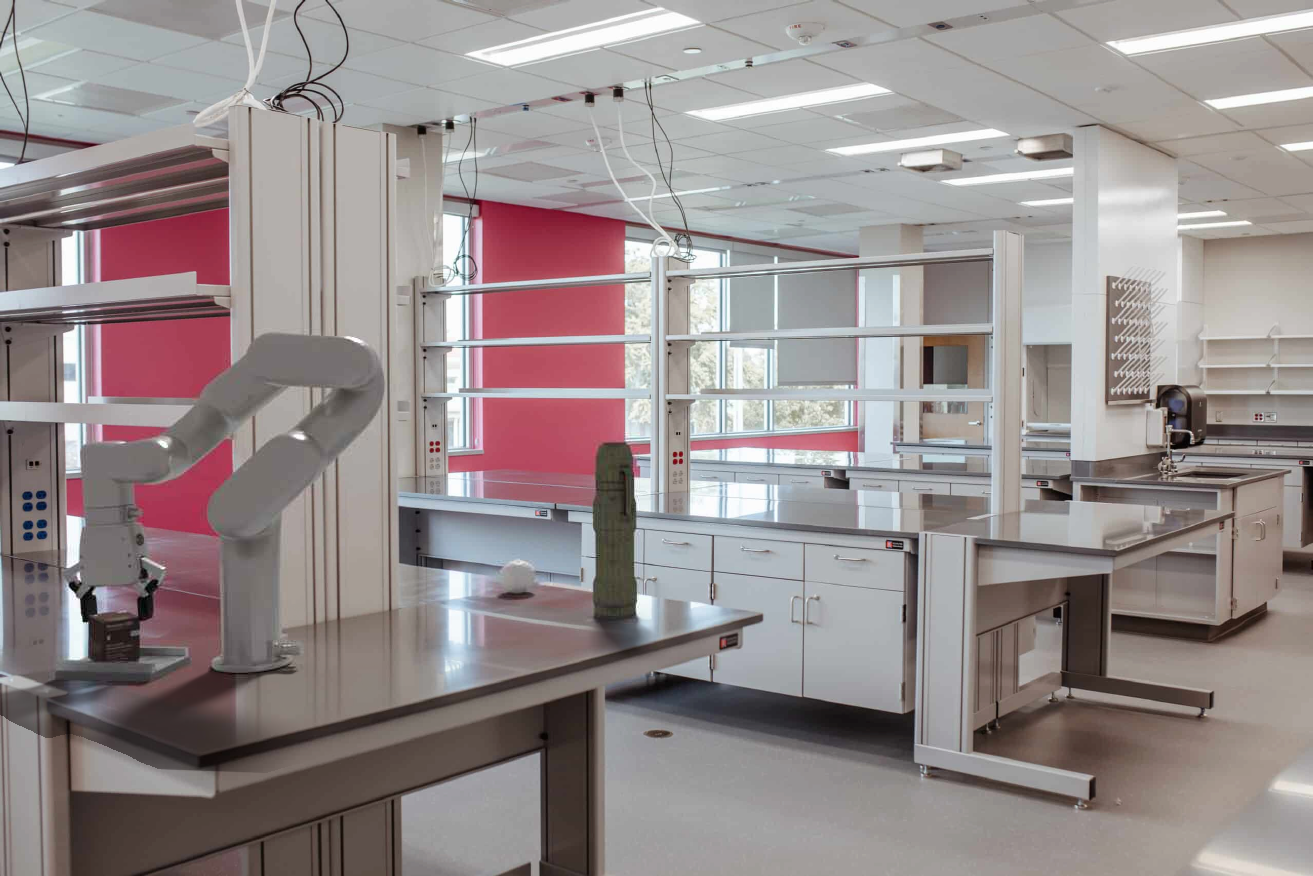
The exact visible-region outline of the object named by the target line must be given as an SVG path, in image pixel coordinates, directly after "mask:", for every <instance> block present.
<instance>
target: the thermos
mask: <svg viewBox="0 0 1313 876" xmlns="http://www.w3.org/2000/svg"><path fill="white" fill-rule="evenodd" d="M595 455H596V456H595V471H594V477H595V496H594V498H593V502H592V529H593V531H594V533H595V534H594V535H595V541H594V542H595V547H594V548H595V576H594V579H593V582H592V602H593V606H594V608H593V616H594V617H596V618H598V619H603V620H625V619H632V618H634V617H636V616H637V603H638V582H637V579H636V576H635V533H636V530H637V501H636V499H635V473H634V456H633V453H632V450H631V447H630V444H627V443H626V442H624V441H623V442H621V441H619V442H617V441H613V442H611V441H609V442H602V444H599V445H598V449H597V451H596V454H595Z"/></svg>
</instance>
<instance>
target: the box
mask: <svg viewBox="0 0 1313 876" xmlns="http://www.w3.org/2000/svg"><path fill="white" fill-rule="evenodd" d="M87 624H88V625H87V627H88V628H87V631H88V632H87V634H88V636H87V638H88V639H87V657H88V658H89V659H91V660H93V661H135V660H139V659H140V646H141V642H140V641H141V634H140V633H141V631H140V630H141V621H139V620H138V614H137V615H136V614H134V613H132V612H129V611H127V610H119V611H109V612H108V611H107V612H101V613H98V614H94V615H89V616H88V622H87Z"/></svg>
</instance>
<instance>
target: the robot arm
mask: <svg viewBox="0 0 1313 876" xmlns="http://www.w3.org/2000/svg"><path fill="white" fill-rule="evenodd" d="M246 350H247V351H246V353H245V354H244V355H243V356H241V357H240V358H239V359H238V360H237V361H235V362H234V363H233V364H232V365H230V366H229V367H228V368H226V369H225V370H224V371H223V372H222V373H220V374H219V375H218V376H217V377H215V378H214V379H212V381H210V382H209V383H208V384H206V386H205V387H204V388H203V389H202V391H201V393H200V395H199V396H198V397H199V398H198V399H197V401H196V403H195V404H194V405H193V406H192V407H191V408H190V409H189V410H188V411H187V412H186V413H185V414H183V416H182V417H181V418H180V419H178V420H177V421H176V422H174V423H173V424H171V426H169V427H168V428H167V429H166V430H165V431H163V432H162V433H161V434H159V435H158V436H153V437H150V438H143V439H139V440H134V441H128V442H126V441H124V440H103V441H92V442H86V443H85V444H83V445H82V446H81V448H80V451H79V458H80V460H79V461H80V473H81V474H80V475H81V486H82V488H81V489H82V498H83V500H82V501H83V514H84V515H83V517H84V526H82V527H81V531H80V539H79V551H78V554H79V555H78V562H77V563H75V564H74V565H72V566H71V567H69V568H67V569H65V570H64V571H62V576H63V577H64V579H65V581H66V583H67V584H68V588H69V589H70V590H71V591H72V592H73V593H74V594H75V598H77V599H79V605H80V606H79V607H80V615H81V621H82V623H83V624H85V623H87V624H88V616H89V615H94V614H99V613H98V602H97V599H98V598H97V595H96V594H94V592H95V591H96V589H97V588H101V587H103V588H104V587H107V588H108V587H110V588H111V587H131V586H132V588H133V589H134V590H135V591H136V592H137V593H138V595H139V596H138V597H137V598H136V606H137V616H138V620H139V621H140V622H145V621H148V620H150V619H152V618H153V617H154V612H155V609H154V607H155V606H154V597H153V596H154V595H153V594H156V592H157V590H158V588H159V587H161V585H162V583H163V580H164V577H165V575H166V572H167V568H166V567H165V566H163V565H161V564H159V563H157V562H155V561H153V560H151V558H150V557H151V556H150V552H149V545H148V540H147V536H146V532H145V530H144V529H145V528H144V526H143V524H142V522H137V520H138V518H141V517H142V516H143V510H142V508H137V504H136V497H135V485H158V484H163V483H165V482H168V481H170V480H174V479H176V478H179V477H180V476H182V475H183V474H184V473H186V472H187V471H188V470H190V469H191V468H192V467H193V466H194V465H196V464H198V463H199V462H200V461H201V460H202V459H203V458H204V457H206V456H207V455H208V454H209V453H211V452H212V451H213V450H214V449H216V448H217V447H218V446H219V445H220V444H221V443H222V442H224V441H225V440H226V439H227V438H228V437H230V436H231V435H232V434H234V433H235V432H237V431H238V430H239V429H240V428H241V427H242V426H243V425H244V424H245V423H247V422H248V421H249V420H250V419H251V418H252V417H254V416H255V415H256V414H258V413H259V412H260V411H261V410H263V408H265V407H266V406H267V405H268V404H270V403H271V402H272V401H273V400H274V399H276V398H277V397H279V396H280V395H281V394H282V393H284V392H285V391H286V390H287V389H288V388H289V387H303V388H323V389H331V390H330V392H328V394H327V395H326V396H325V397H324V398H323V399H322V400H321V401H320V402H318V404H316V406H314V407H313V408H312V409H311V411H310V412H309V413H307V415H305V416H304V417H303V418H301V420H300V421H299V422H298V423H296V424H295V426H293V427H292V428H291V429H290V430H288V431H286V432H284V433H281V434H278V435H276V436H274V437H273V438H271V439H270V440H268V441H267V442H266V443H265V444H263V445H262V446H260V448H259V449H257V450H256V451H255V452H254V454H252V455H251V456H250V457H249V458H248V459H247V460H246V461H245V462H244V463H243V464H242V465H241V466H239V467H238V468H237V469H236V471H234V472H233V473H232V474H231V475H230V476H229V477H228V478H227V479H226V480H225V481H224V482H223V483H221V484H220V485H219V486H218V487H217V488H216V490H214V491H213V493H212V494H211V496H210V498H209V500H208V503H207V508H206V516H207V521H208V523H209V526H210V527H211V528H212V530H213V531H214V532H215V533H216V534H217V535H219V536H220V541H219V543H220V545H219V585H220V587H219V590H220V591H219V592H220V594H219V595H220V630H221V631H220V635H221V637H220V638H221V654H220V655H219V654H218V656H216V657H214V658H213V659H212V661H211V668H212V669H214V670H215V671H218V672H222V673H229V674H230V673H231V674H232V673H233V674H237V673H238V674H242V673H243V674H248V673H249V674H250V673H259V672H265V671H266V672H267V671H270V670H275V669H278V668H283V667H285V666H287V665H290V663H291V662H292V661H293V658H292V657H302V656H303V655H304V653H305V646H304V643H303V642H299V641H298V642H296V641H295V642H290V641H289V639H288V638H289V636H288V633H283V629H282V627H283V626H282V583H281V579H282V577H281V576H282V575H281V573H282V572H281V569H282V566H281V564H282V563H281V560H282V559H281V556H282V555H281V538H282V534H281V533H282V521H283V520H282V519H283V517H282V516H283V511H284V510H285V509H286V508H288V507H289V505H291V503H293V502H294V501H295V500H296V499H297V498H298V497H299V496H300V495H301V494H302V493H303V492H304V491H305V490H306V489H308V488H309V487H310V486H311V485H312V484H314V483H315V482H316V481H317V480H319V478H320V477H321V475H323V473H324V471H326V469H327V468H328V467H329V466H330V465H331V464H332V463H333V462H334V461H335V460H336V459H337V458H338V457H339V456H341V454H342V453H344V452H345V450H347V448H348V447H349V446H351V444H352V443H353V442H354V441H355V440H356V439H357V438H359V436H360V435H361V434H363V432H364V431H365V430H366V429H367V428H368V427H369V425H370V424H371V423H372V421H374V419H375V417H376V415H377V414H378V412H379V410H380V408H381V405H382V403H383V399H384V396H385V388H386V387H385V385H386V383H385V375H384V370H383V366H382V363H381V360H380V358H379V355H378V354H377V351H376V350H375V349H374V348H373V347H372V346H371V345H370V344H369V343H367V342H366V341H364V340H361V339H360V338H357V337H352V336H345V335H344V336H342V335H323V334H322V335H321V334H299V333H287V332H278V331H270V332H265V333H262V334H260V335H259V336H257V337H255V339H253V340H252V342H250V344H249V345H248V348H247V349H246ZM78 573H79V577H78ZM151 577H152V579H151ZM79 578H80V579H79ZM150 579H151V580H150Z"/></svg>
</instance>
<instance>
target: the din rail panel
mask: <svg viewBox="0 0 1313 876" xmlns="http://www.w3.org/2000/svg"><path fill="white" fill-rule="evenodd" d="M189 664H191V656H190V655H189V647H188V646H157V645H156V646H154V645H151V646H150V645H147V646H146V645H140V659H139V660H135V661H93V660H91V659H89V658H88V656H85V657H83V658H80V659H60V660H57V661H56V671H55V672H54V677H55V678H54V679H55V680H61V681H64V680H66V681H96V682H97V681H103V682H107V681H108V682H133V683H134V682H135V683H137V682H139V683H141V682H142V683H151V682H154V681H155V680H157V679H160V678H161V677H164V676H166V675H168V674H170V673H172V672H174V671H176V670H179V669H181V668H183V667H185V666H187V665H189Z"/></svg>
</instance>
